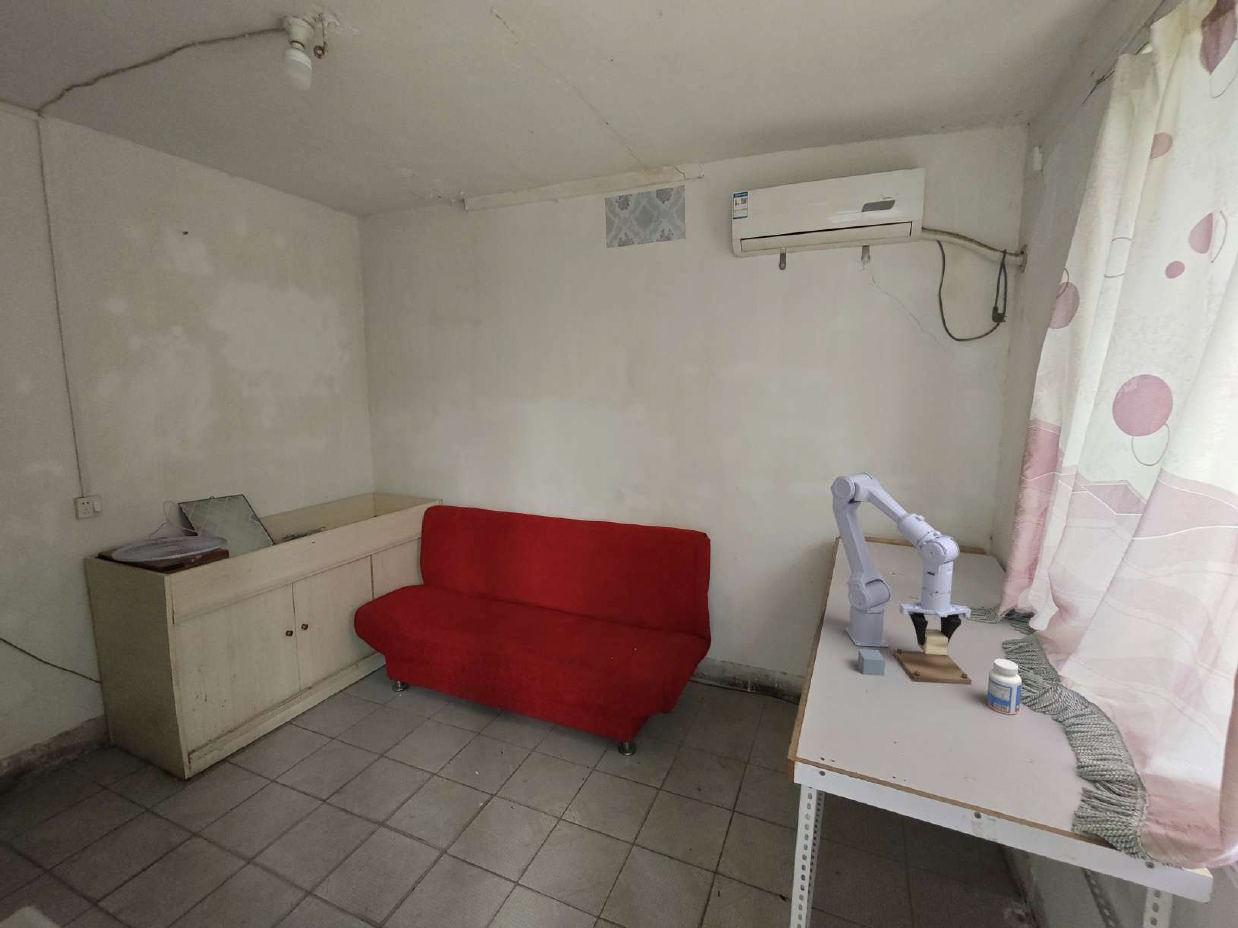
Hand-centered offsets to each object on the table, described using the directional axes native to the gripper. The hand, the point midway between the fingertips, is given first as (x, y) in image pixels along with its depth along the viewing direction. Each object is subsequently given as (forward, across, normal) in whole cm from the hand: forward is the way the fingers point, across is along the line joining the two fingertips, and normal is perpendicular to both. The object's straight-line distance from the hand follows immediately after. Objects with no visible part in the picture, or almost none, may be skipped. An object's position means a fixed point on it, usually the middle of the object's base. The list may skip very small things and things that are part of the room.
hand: (932, 643), depth 120 cm
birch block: (+1, 0, 0) cm, 1 cm away
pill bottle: (+6, +8, -14) cm, 17 cm away
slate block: (+6, -14, -2) cm, 16 cm away
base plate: (+6, 0, 0) cm, 6 cm away
